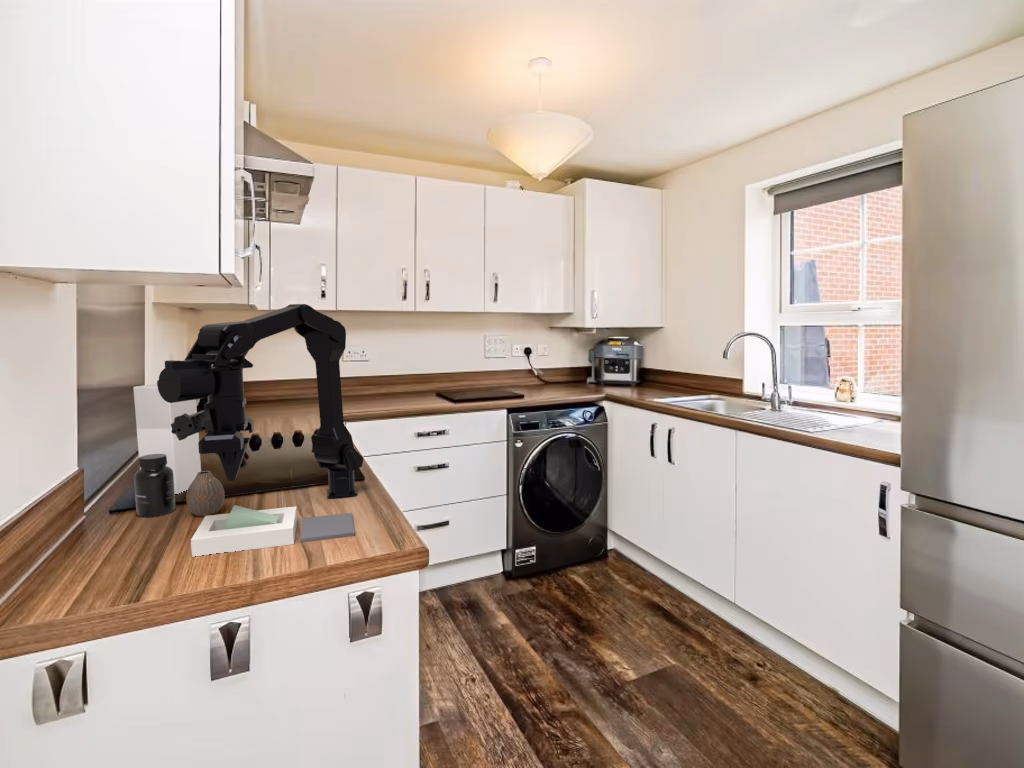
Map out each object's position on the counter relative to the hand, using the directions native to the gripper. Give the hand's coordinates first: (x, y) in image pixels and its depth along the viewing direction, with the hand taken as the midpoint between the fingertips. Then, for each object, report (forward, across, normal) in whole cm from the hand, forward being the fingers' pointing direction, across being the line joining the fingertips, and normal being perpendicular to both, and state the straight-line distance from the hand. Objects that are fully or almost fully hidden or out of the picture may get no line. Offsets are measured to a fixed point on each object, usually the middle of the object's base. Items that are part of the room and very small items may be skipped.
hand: (231, 480), depth 97 cm
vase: (+11, -17, -8) cm, 22 cm away
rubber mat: (+11, 0, +16) cm, 19 cm away
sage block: (+10, 0, +2) cm, 10 cm away
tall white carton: (+11, -38, -19) cm, 44 cm away
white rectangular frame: (+11, 0, +2) cm, 11 cm away
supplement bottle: (+11, -21, -18) cm, 30 cm away
